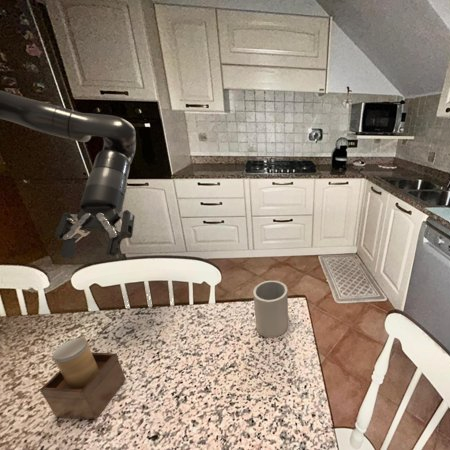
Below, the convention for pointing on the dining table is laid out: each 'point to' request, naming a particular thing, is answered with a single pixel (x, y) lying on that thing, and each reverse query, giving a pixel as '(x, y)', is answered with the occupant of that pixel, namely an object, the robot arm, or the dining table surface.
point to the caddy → (85, 390)
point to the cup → (271, 308)
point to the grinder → (76, 362)
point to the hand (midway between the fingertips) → (89, 257)
